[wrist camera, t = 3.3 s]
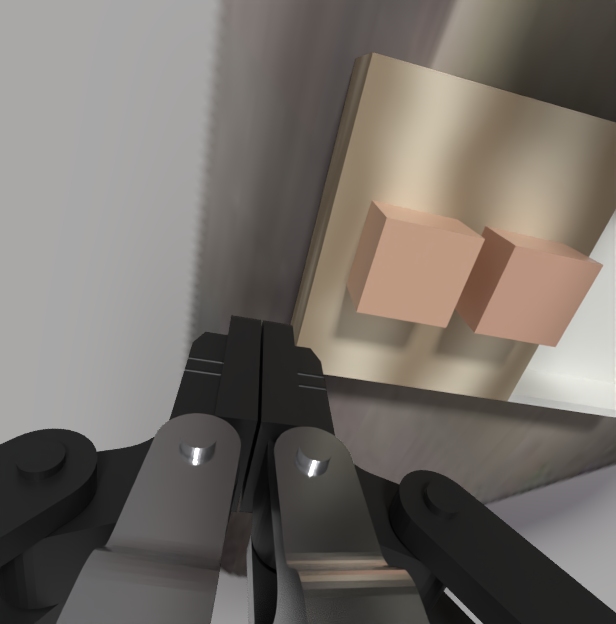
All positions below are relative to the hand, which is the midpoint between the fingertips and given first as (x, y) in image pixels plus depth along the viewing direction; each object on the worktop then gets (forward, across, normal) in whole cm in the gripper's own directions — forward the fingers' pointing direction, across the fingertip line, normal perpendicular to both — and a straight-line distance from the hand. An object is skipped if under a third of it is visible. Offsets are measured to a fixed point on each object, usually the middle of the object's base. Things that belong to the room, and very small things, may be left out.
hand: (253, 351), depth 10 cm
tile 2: (+11, -13, 0) cm, 17 cm away
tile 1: (+11, -7, 0) cm, 13 cm away
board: (+15, -10, 0) cm, 18 cm away
